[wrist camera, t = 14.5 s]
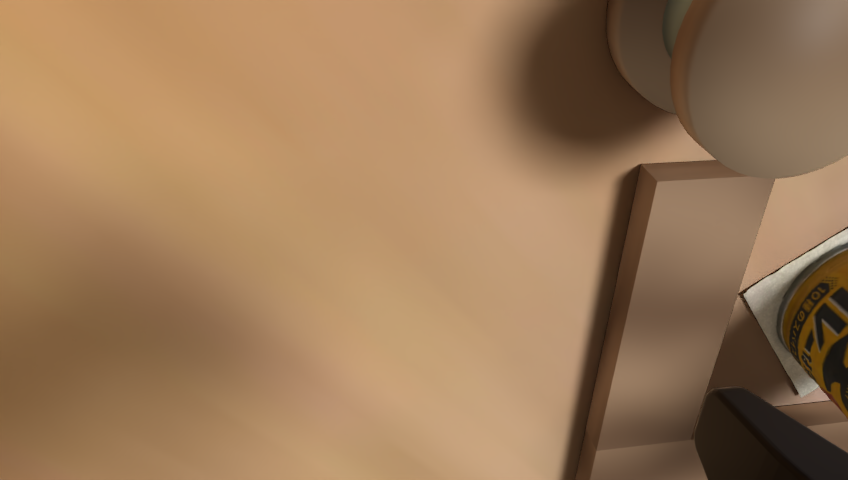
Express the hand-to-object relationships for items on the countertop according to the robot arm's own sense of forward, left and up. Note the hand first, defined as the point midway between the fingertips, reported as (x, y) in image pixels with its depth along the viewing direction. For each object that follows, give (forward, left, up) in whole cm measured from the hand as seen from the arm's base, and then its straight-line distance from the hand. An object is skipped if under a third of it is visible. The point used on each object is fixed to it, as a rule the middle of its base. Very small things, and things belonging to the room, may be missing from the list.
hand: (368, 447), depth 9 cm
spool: (+2, -11, -13) cm, 17 cm away
